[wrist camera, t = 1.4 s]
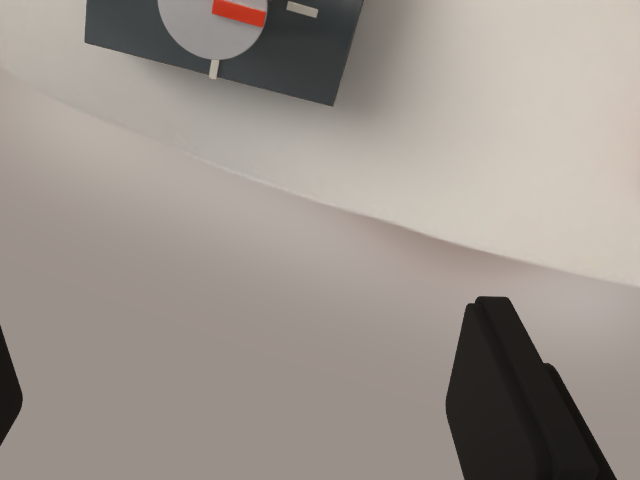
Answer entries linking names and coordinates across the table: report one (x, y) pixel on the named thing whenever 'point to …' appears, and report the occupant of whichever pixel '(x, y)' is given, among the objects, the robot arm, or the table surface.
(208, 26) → the tap knob
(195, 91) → the table surface
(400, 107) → the table surface
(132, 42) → the panel
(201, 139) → the table surface
